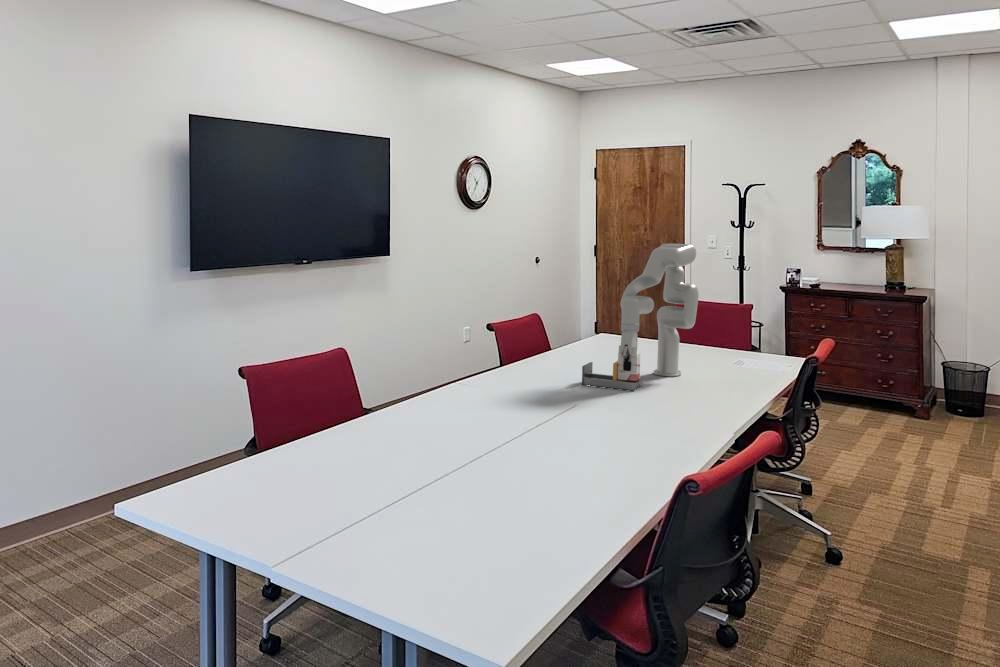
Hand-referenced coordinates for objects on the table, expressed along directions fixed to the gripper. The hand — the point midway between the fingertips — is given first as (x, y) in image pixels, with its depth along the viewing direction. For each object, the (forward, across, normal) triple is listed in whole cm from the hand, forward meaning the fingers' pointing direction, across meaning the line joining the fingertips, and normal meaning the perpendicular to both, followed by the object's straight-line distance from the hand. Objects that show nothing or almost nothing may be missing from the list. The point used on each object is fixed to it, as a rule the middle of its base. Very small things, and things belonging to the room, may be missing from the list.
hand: (629, 368), depth 317 cm
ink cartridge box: (+5, 0, 0) cm, 5 cm away
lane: (+8, 0, -8) cm, 11 cm away
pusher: (+7, 0, -5) cm, 9 cm away
